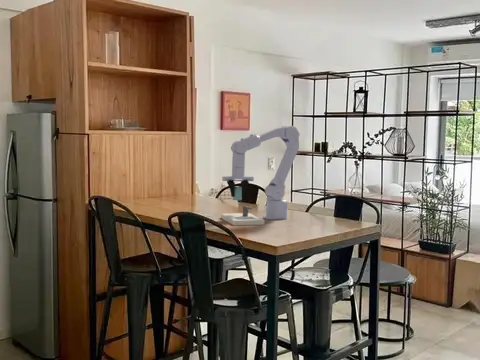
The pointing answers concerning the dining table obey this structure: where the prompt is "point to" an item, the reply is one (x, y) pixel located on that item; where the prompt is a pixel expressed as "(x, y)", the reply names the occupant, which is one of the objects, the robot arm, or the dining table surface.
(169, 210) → the dining table surface
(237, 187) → the cylinder
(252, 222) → the white box with opening
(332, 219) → the dining table surface
